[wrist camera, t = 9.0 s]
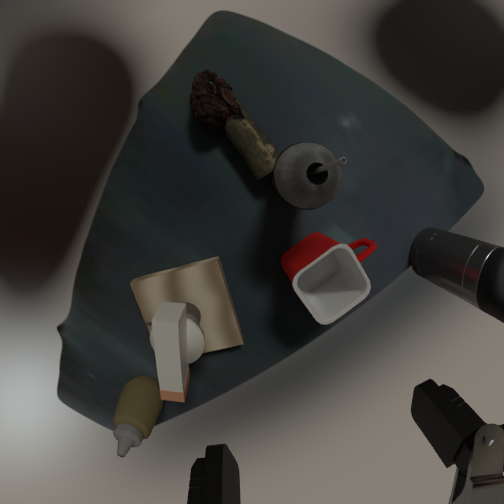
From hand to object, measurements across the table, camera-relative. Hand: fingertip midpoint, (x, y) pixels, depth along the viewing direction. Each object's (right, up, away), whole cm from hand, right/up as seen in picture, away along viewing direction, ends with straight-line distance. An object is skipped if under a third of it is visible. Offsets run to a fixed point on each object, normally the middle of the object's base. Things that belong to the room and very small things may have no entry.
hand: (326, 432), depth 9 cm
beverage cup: (+2, +18, +30) cm, 35 cm away
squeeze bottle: (-23, -19, +37) cm, 47 cm away
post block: (-13, -2, +34) cm, 36 cm away
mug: (+8, +7, +33) cm, 35 cm away
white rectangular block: (-12, -4, +25) cm, 28 cm away
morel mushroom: (-6, +25, +29) cm, 39 cm away
